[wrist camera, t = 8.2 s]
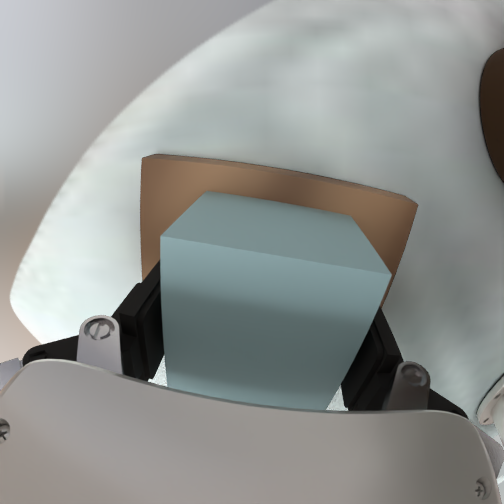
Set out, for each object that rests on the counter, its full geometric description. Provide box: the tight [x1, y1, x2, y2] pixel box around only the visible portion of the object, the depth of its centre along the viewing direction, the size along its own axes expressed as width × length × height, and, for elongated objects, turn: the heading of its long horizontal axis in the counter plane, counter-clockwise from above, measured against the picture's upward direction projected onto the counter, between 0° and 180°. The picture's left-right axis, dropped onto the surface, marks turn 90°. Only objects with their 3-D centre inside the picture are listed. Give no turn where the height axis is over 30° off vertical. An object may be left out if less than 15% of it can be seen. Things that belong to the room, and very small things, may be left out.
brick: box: [160, 191, 392, 410], centre depth 11 cm, size 6×8×5 cm
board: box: [140, 154, 418, 308], centre depth 14 cm, size 12×10×2 cm
